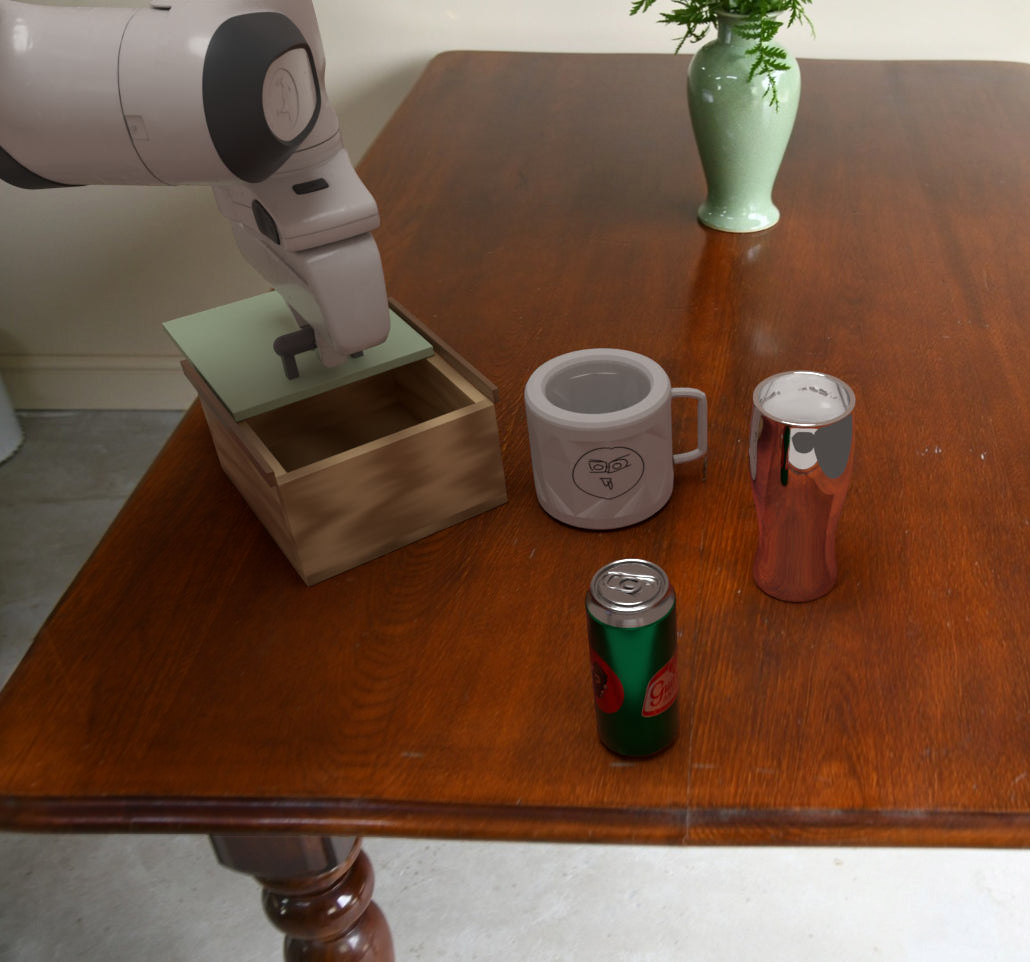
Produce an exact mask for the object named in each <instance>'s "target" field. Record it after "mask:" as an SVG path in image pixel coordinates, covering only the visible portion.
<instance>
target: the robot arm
mask: <svg viewBox="0 0 1030 962" xmlns="http://www.w3.org/2000/svg"><path fill="white" fill-rule="evenodd" d="M325 53H326V52H325V48H324V45H323V39H322V34H321V30H320V26H319V22H318V18H317V14H316V11H315V7H314V3H313V0H151V1H149V6H146V7H145V6H141V7H140V6H66V5H65V6H62V5H61V6H60V5H47V4H36V3H27V2H21V1H17V0H0V180H1V181H2V182H4V183H6V184H9V185H11V186H13V187H16V188H19V189H23V190H29V191H35V190H36V191H37V190H51V189H65V188H80V187H87V186H132V187H133V186H134V187H137V186H138V187H140V186H141V187H149V186H150V187H180V186H189V187H190V186H191V187H193V186H194V187H195V186H197V187H199V186H201V187H211V189H212V193H213V197H214V200H215V204H216V207H217V210H218V212H219V213H220V214H221V215H222V216H223V217H224V218H225V219H228V220H229V222H230V226H231V230H232V235H233V238H234V241H235V244H236V246H237V249H238V251H239V253H240V256H242V258H243V259H244V260H245V261H246V262H247V264H249V265H250V266H251V267H252V268H253V269H254V271H256V272H257V273H258V274H259V276H261V277H262V278H263V279H264V280H265V281H266V282H267V283H268V284H269V285H270V286H271V287H272V289H273V290H274V291H275V290H276V291H277V292H278V293H279V294H280V295H281V296H282V297H283V299H284V301H285V303H286V305H287V307H288V309H289V311H290V313H291V315H292V317H293V319H294V321H295V323H296V325H297V329H298V330H302V329H305V328H308V327H312V328H313V329H314V331H315V339H316V340H313V345H314V349H313V350H311V351H316V357H317V358H318V359H319V360H320V361H321V362H322V364H323V365H324V366H325V367H328V368H331V367H334V366H337V365H340V364H343V363H344V362H345V361H346V360H347V355H350V354H354V353H357V352H360V351H363V350H366V349H369V348H372V347H375V346H377V345H380V344H382V343H384V342H385V341H386V340H387V338H388V335H389V331H390V314H389V307H388V299H387V298H388V293H387V285H386V280H385V273H384V267H383V262H382V257H381V254H380V250H379V247H378V243H377V242H376V239H375V237H374V235H373V234H372V231H374V230H377V229H379V228H380V226H381V218H380V213H379V208H378V205H377V202H376V199H375V198H374V196H373V195H372V194H371V192H370V191H369V189H368V188H367V187H366V186H365V184H364V182H363V180H361V178H360V176H359V175H358V174H357V171H356V170H355V168H354V165H353V163H352V161H351V158H350V155H349V152H348V150H347V149H346V148H345V144H344V139H343V135H342V130H341V126H340V120H339V118H338V115H337V112H336V110H335V109H334V107H333V105H332V103H331V101H330V99H329V95H328V93H327V88H326V81H325V79H326V77H325V76H326V67H327V61H326V59H327V58H326V54H325Z"/></svg>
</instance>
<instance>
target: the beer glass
mask: <svg viewBox="0 0 1030 962" xmlns="http://www.w3.org/2000/svg"><path fill="white" fill-rule="evenodd" d="M856 400H857V399H856V395H855V392H854V391H853V389H852V388H851V386H850V385H849V384H848V383H846V382H844V381H843V380H841V379H840V378H838V377H836V376H834V375H831V374H828V373H824V372H819V371H814V370H789V371H782V372H779V373H775V374H773V375H770V376H768V377H766V378H765V379H763V380H761V381H760V382H759V383H758V384H757V385H756V386H755V388H754V390H753V393H752V406H751V413H750V421H749V422H750V423H749V432H748V472H749V480H750V485H751V487H750V488H751V492H752V497H753V503H754V508H755V513H756V517H757V525H758V542H757V548H756V550H755V555H754V559H753V563H752V577H753V581H754V583H755V584H756V586H757V587H758V588H759V589H760V590H761V592H763V593H765V594H767V595H768V596H770V597H772V598H774V599H777V600H780V601H783V602H790V603H802V602H803V603H805V602H810V601H813V600H817V599H819V598H821V597H823V596H825V595H827V594H828V593H830V591H831V590H832V589H833V588H834V587H835V585H836V583H837V580H838V575H839V574H838V573H839V571H838V562H837V555H836V548H835V546H836V545H835V541H836V533H837V528H838V524H839V521H840V517H841V515H842V514H841V513H842V511H843V507H844V504H845V502H846V499H847V494H848V492H849V488H850V483H851V480H852V479H851V478H852V475H853V471H854V470H853V468H854V462H855V461H854V460H855V453H856V450H855V449H856V402H857V401H856Z"/></svg>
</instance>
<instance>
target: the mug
mask: <svg viewBox="0 0 1030 962" xmlns="http://www.w3.org/2000/svg"><path fill="white" fill-rule="evenodd" d="M523 397H524V406H525V415H526V416H525V417H526V423H527V424H526V425H527V432H528V438H529V441H528V442H529V448H530V455H531V464H532V472H533V481H534V482H533V483H534V487H535V492H536V497H537V501H538V502H539V505H540V506H541V507H542V509H543V510H544V511H545V512H546V513H547V514H548V515H550V516H551V517H553V518H554V519H556V520H558V521H560V522H561V523H564V524H566V525H569V526H573V527H576V528H581V529H586V530H601V531H603V530H615V529H620V528H624V527H628V526H632V525H636V524H637V523H641V522H642V521H645V520H646V519H648V518H650V517H652V516H653V515H654V514H655V513H657V512H659V511H660V510H661V509H662V508H663V507H664V506H665V505H666V504H667V503H668V501H669V500H670V498H671V496H672V493H673V489H674V477H675V476H674V475H675V474H674V473H675V472H674V465H681V464H686V463H690V462H693V461H696V460H699V459H700V458H701V457H703V456H704V455H706V453H707V450H708V400H707V396H706V393H705V392H704V391H701V390H700V389H698V388H692V387H672V384H671V380H670V378H669V375H668V373H667V372H666V371H665V370H664V368H662V366H661V365H660V364H659V363H658V362H656V361H655V360H653V359H651V358H650V357H648V356H646V355H643V354H641V353H637V352H634V351H631V350H626V349H619V348H607V347H606V348H604V347H603V348H602V347H600V348H599V347H598V348H588V349H587V348H586V349H580V350H575V351H571V352H568V353H563V354H561V355H559V356H556V357H554V358H551V359H549V360H548V361H545V362H543V364H541V365H540V366H539V367H537V368H536V369H535V370H534V371H533V373H532V374H531V375H530V376H529V378H528V380H527V382H526V384H525V387H524V396H523ZM676 398H687V399H688V398H691V399H696V400H697V404H696V406H697V409H696V413H697V448H696V449H694V450H691V451H688V452H684V453H683V452H682V453H678V454H673V431H672V430H673V428H672V427H673V425H672V399H676Z"/></svg>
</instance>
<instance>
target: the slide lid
mask: <svg viewBox="0 0 1030 962" xmlns="http://www.w3.org/2000/svg"><path fill="white" fill-rule="evenodd" d="M389 314H390V331H389V335H388V338H387V340H386V341H385V342H384V343H382V344H380V345H377V346H375V347H372V348H369V349H366V350H363V351H360V352H357V353H354V354H350V355H347V360H346V361H345V362H344V363H343V364H340V365H337V366H334V367H331V368H328V367H325V366H324V365H323V364H322V362H321V361H320V360H319V359H318V358H317V357H316V351H311V350H313V349H314V345H313V340H316V339H315V331H314V329H313V328H312V327H308V328H305V329H302V330H298V329H297V325H296V323H295V321H294V319H293V317H292V315H291V313H290V311H289V309H288V307H287V305H286V303H285V301H284V299H283V297H282V296H281V295H280V294H279V293H278V292H277V291H276V290H275V289H274V290H271V291H269V292H265V293H262V294H258V295H255V296H251V297H247V298H244V299H241V300H237V301H234V302H230V303H227V304H224V305H219V306H217V307H213V308H209V309H206V310H202V311H199V312H195V313H192V314H188V315H184V316H182V317H178V318H175V319H171V320H168V321H164V322H161V326H162V329H163V331H164V333H165V334H166V335H167V337H168V338H169V339H170V341H171V342H172V343H173V344H174V346H175V347H176V348H177V349H178V351H179V353H181V355H182V356H183V357H184V358H185V359H186V360H187V361H188V362H189V363H190V365H191V366H192V367H193V368H194V370H195V371H196V372H197V373H198V375H199V376H200V377H201V379H202V380H203V381H204V382H205V384H206V385H207V386H208V387H209V389H210V390H211V391H212V393H213V394H214V395H215V396H216V398H217V399H218V400H219V402H220V403H221V404H222V405H223V407H224V408H225V409H226V410H227V412H228V413H229V414H230V416H231V417H232V418H233V419H234V421H235V422H238V421H241V420H244V419H247V418H250V417H253V416H256V415H259V414H262V413H264V412H267V411H270V410H273V409H276V408H279V407H282V406H285V405H288V404H291V403H294V402H297V401H300V400H303V399H306V398H309V397H311V396H314V395H317V394H320V393H323V392H326V391H329V390H332V389H335V388H338V387H341V386H344V385H347V384H350V383H353V382H356V381H358V380H361V379H364V378H367V377H370V376H373V375H376V374H379V373H382V372H385V371H388V370H391V369H394V368H397V367H400V366H403V365H405V364H408V363H411V362H414V361H417V360H420V359H423V358H426V357H429V356H432V355H434V352H435V351H434V350H433V346H432V345H431V344H430V343H429V342H427V341H426V340H425V339H424V338H423V337H422V336H421V335H419V334H418V333H417V332H416V331H415V330H414V329H412V328H411V327H410V326H409V325H408V324H407V323H406V322H404V321H403V320H402V319H401V318H400V317H399V316H398V315H396V314H395V313H394V312H393V311H392V310H391V309H390V308H389Z"/></svg>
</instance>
